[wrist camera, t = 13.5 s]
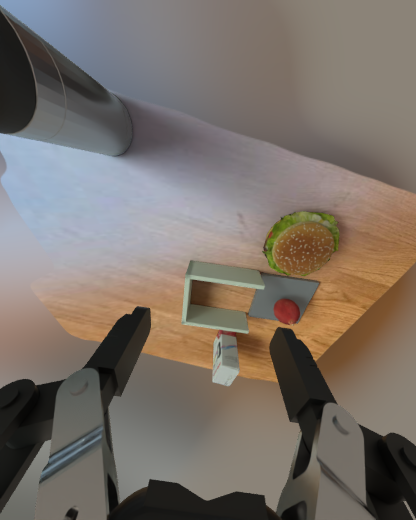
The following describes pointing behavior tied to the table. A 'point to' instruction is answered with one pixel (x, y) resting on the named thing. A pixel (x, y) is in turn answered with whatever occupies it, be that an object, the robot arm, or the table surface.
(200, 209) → the table surface
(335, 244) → the food
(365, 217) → the table surface
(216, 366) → the ink box
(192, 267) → the cubby
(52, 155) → the table surface
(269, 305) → the tile
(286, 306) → the onion
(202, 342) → the table surface
